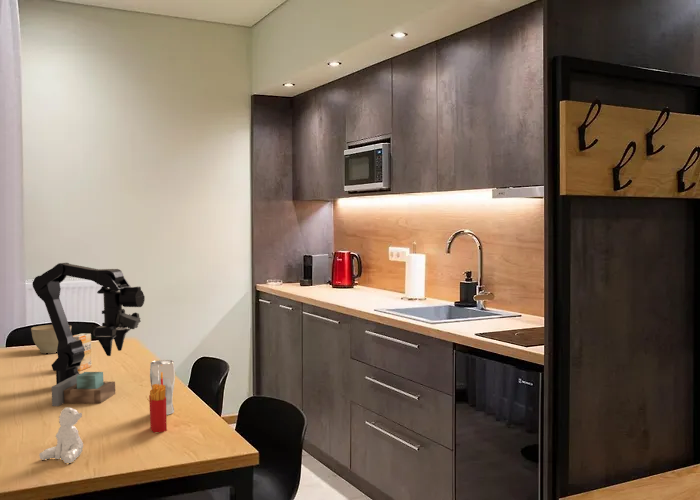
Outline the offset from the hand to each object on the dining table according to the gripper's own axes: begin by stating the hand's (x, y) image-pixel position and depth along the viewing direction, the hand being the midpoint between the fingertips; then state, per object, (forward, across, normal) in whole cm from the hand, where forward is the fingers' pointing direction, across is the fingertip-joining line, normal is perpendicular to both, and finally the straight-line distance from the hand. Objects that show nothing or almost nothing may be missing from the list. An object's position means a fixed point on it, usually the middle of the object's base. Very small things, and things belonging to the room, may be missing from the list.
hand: (114, 353), depth 236 cm
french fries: (+12, -45, -30) cm, 55 cm away
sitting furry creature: (+12, -67, -15) cm, 70 cm away
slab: (+12, -13, +10) cm, 20 cm away
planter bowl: (+12, +65, +54) cm, 85 cm away
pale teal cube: (+12, -13, +3) cm, 18 cm away
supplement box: (+12, +31, +26) cm, 42 cm away
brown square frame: (+12, -13, +3) cm, 18 cm away
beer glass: (+12, -29, -26) cm, 41 cm away
